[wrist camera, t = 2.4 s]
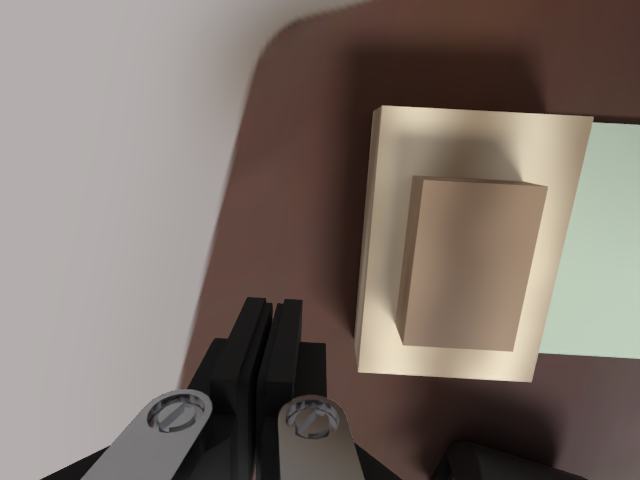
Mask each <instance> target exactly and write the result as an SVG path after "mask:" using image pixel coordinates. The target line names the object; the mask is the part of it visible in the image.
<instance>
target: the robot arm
mask: <svg viewBox="0 0 640 480" xmlns="http://www.w3.org/2000/svg"><path fill="white" fill-rule="evenodd" d="M272 314H273V305H272V303H266V298H253V297H247V299H246V301H245V303H244V306H243V308H242V310H241V312H240V314H239V316H238V318H237V321H236V323H235V325H234V327H233V329H232V331H231V333H230V336H229V338H228V339H225V338H215V339H214V340H213V342H212V343H211V345H210V347H209V349H208V351H207V353H206V355H205V356H204V358H203V360H202V362H201V364H200V366H199V368H198V369H197V371H196V373H195V375H194V377H193V379H192V381H191V383H190V384H189V386H188V388H187V389H181V390H175V391H171V392H168V393H165V394H162V395H160V396H159V397H157V398H155V399H153V400H152V401H151V402H149V403H148V404H147V405H146V406H145V407H144V408H143V409H142V410H141V412H140V413H139V414H138V415H137V416H136V417H135V418H134V419H133V421H132V422H131V423H130V424H129V425H128V426H127V427H126V428H125V430H124V431H123V432H122V433H121V434H120V435H119V436H118V438H117V439H116V440H115V441H114V442H113V443H112V444H111V445H110V446H108V447H106V448H104V449H102V450H100V451H98V452H96V453H94V454H92V455H90V456H88V457H86V458H83V459H81V460H79V461H77V462H75V463H73V464H71V465H69V466H67V467H65V468H63V469H61V470H59V471H57V472H55V473H53V474H51V475H49V476H47V477H45V478H43V479H41V480H252V479H253V474H254V469H255V464H256V480H402V479H401V478H399V477H398V476H397V475H395V474H394V473H393V472H392V471H390V470H389V469H388V468H386V467H385V466H384V465H383V464H381V463H380V462H379V461H377V460H376V459H375V458H374V457H372V456H371V455H370V454H368V453H367V452H366V451H365V450H363V449H362V448H361V447H359V446H358V445H357V444H356V443H354V441H353V438H352V434H351V431H350V428H349V424H348V421H347V417H346V415H345V413H344V411H343V409H342V408H341V407H340V406H339V405H338V404H337V403H336V402H334V401H332V400H331V399H329V398H327V384H326V344H325V343H309V342H301V327H302V300H295V299H285V300H284V304H280V303H278V304H277V307H276V311H275V315H274V318H273V322H272Z"/></svg>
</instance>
